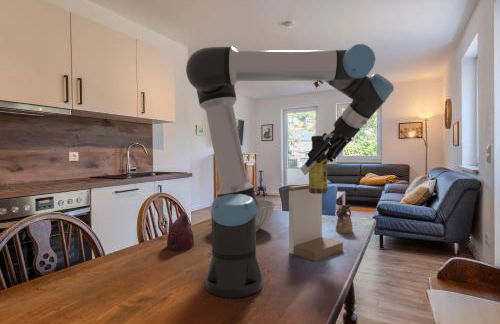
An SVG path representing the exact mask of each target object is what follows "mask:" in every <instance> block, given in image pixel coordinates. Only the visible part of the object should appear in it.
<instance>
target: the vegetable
mask: <svg viewBox="0 0 500 324" xmlns="http://www.w3.org/2000/svg"><path fill="white" fill-rule="evenodd" d="M188 218H189V217H188V214H187V213H186V211H184V212H183V213H181V214H180V216H178V217H177V219H175V221H174V222H173V223H172V224H171V226H170V229H169V232H168V234H167V241H166V249H168V250H169V251H172V252H179V251H186V250H187V251H188V250H191V249H193V247H195V242H194V241H195V239H194V234H193V233H194V232H193V230H192V228H191V225H190V224H189V220H188Z"/></svg>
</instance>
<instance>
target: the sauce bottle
mask: <svg viewBox="0 0 500 324" xmlns="http://www.w3.org/2000/svg"><path fill="white" fill-rule="evenodd" d="M321 137H322V135H311V137H310V138H311V149H312V148H313V147H314V146H315V145H316V144H317V142H318V141H319V140H320V139H321ZM309 158H310V157H309V156H308V159H309ZM316 161H317V162H316V163H315V165H314V166H313V167H312V168H311V169H310V171H309V172H308V185H309V192H310V193H313V194H322V195H323V194H327V192H328V163H327V157H326V152H325V153H324V154H323V155H322V156H320V157H319V158H318V159H317V160H316Z"/></svg>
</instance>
